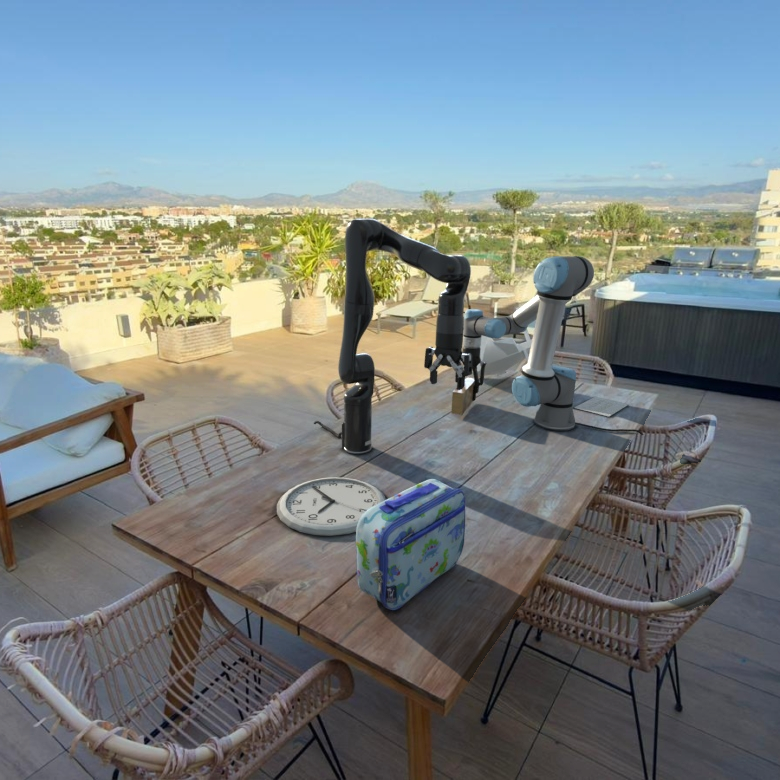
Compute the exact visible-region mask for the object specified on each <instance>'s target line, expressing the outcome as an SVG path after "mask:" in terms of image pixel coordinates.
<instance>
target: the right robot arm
mask: <svg viewBox="0 0 780 780" xmlns="http://www.w3.org/2000/svg"><path fill="white" fill-rule="evenodd" d="M594 277H595V269H594V267H593V264H592V263H591V262H590V260H589V259H587V258H585V257H584V256H580V255H573V256H551V257H546V258H544V259H543V260H542V261H540V262H539V263H538V264H537V266H536V267H535V268H534V272H533V277H532V283H533V284H534V288H535V289H536V290H537V292H536V295H535V296H534V297H532V298H531V299H530V300H528V301H527V302H526V303H525V304H523V305H522V306H520V307H519V309H518V310H517V311H516V310H515V311H514V312H513V313H511V314H510V315H507V316H498V317H488V316H484V312H483V309H476V308H470V309H466V310H464V311H465V312H464V315H463V317H464V330H463V346H462V353H463V354H470V353H471V354H472V370H473V375H474V377H473V378H474V381H475V385H474V386H473V400H472V401H473V402H475V401H476V399H477V394H479V389H480V386H483V384H484V383H485V376H484V372H485V366H486V364H487V363H486V362H483V361H481V359H480V349H481V348H480V346H481V335H483V336H486V337H489V338H492V339H494V340H495V339H496V340H500V339H501V338H502V337H504V336H510V335H519V334H524V331H526V329H527V330H528V328H529V325H531V324H532V323H533V322H535V325H534V330H533V333H532V338H531V339H532V343H531V348H530V353H529V358H528V363H527V362H526V364H524V365H523V366H522V367H521V371H520V375H518V376H516V377H515V378H514V379H513V381H512V383H511V391H512V395H513V396H514V399H515V400H516V402H517V403H518V404H519V405H521V406H522V407H527V408H528V407H537V406H539V407H538V409H537V410H536V413H535V417H534V424H535V425H536V426H537V427H539V428H542V429H544V430H549V431H556V432H567V431H572V430H574V429H575V428H576V425H577V426H581V427H586V428H590V429H595V430H599V431H605V432H635V433H638V434H640V435H641V436H644V433H643V432H642V431H641V430H638V429H633V428H632V429H628V428H627V429H626V428H617V429H615V428H614V429H612V428H603V427H598V426H593V425H589V424H586V423H581V422H577V421H576V418H575V417H576V416H575V413H574V407H573V405H574V398H575V390H576V383H577V372H576V371H575V369H572V368H571V367H570V368H569V367H566V366H561V365H554V364H553V362H554V358H555V355H556V350H557V345H558V340H559V336H560V332H561V326H562V322H563V319H564V318H563V317H564V314H565V310H566V305H567V304H568V303H569V302H571V301H572V300H573V298H574V297H575V296H577V295H578V294H580V293H582V292H583V291H584V290H586V289H587V288H589V286H590V285H591V284H592V282H593V280H594ZM460 361H461V363H462V364H463V366H464V361H463V359H462V358H461V360H460ZM479 363H480V366H481V372H480V376H478V373H477V365H478V364H479ZM457 366H458V365H457ZM454 377H455V378H454V382H455V383H456V384H457V378H458V377H459V376H458V374H457V373H456V372H455V376H454Z"/></svg>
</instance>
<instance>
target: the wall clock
mask: <svg viewBox="0 0 780 780" xmlns="http://www.w3.org/2000/svg"><path fill="white" fill-rule="evenodd" d="M385 500H387V498H386V496H385V494H384V493H383V492H382V491H381V490H380V489H379V488H377V487H376V486H374V485H372V484H371V483H369V482H365V481H362V480H359V479H355V478H349V477H338V476H337V477H335V476H333V477H332V476H331V477H322V478H317V479H312V480H307V481H305V482H302V483H299V484H297V485H295V486H293V487H292V488H290V489H288V490H287V491H286V492H285V493H284V494H283V495H281V496H280V498H279V499H278V502H277V503H276V515H277V517H278V518H279V520H280V521H281V522H282V523H283V524H285V525H286V526H287V527H288V528H290V529H293V530H295V531H297V532H299V533H303V534H308V535H312V536H327V537H328V536H329V537H331V536H332V537H333V536H342V535H350V534H352V533H356V529H357V525H358V522H359V520H360V518H361V516H362V515H363V513H364V512H365V511H366V510H368V509H369V508H371V507H373V506H375V505H377V504H379V503H381V502H383V501H385Z"/></svg>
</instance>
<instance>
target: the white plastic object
mask: <svg viewBox="0 0 780 780" xmlns="http://www.w3.org/2000/svg"><path fill="white" fill-rule="evenodd" d="M519 308H520V307H519V306H518V307H515V312H516V311H517V310H518V309H519ZM523 335H524V338H525V341H524V342H521V343H516V340H515V339H514V337H507V338H504V339H497V340H495V339H494V338H489V337H486V336H483V335H481V346H480V348H481V349H480V359H481V361H483V362H486V363H487V364H486V366H485V372H484V377H485V376H495V375H496V376H497V377H498V376H501V375H504V374H507V370H509V369H511V368H512V367H513V366H515V365H516V364H517V363H519V362H521V361H522V360H523V359H524V358H525V360H526V364H527V363H528V358H529V353H530V348H531V343H532V338H531V337H530V334H529V332H528V328H527V329H526V331H524V332H523ZM480 372H481V366H480V363H479V364H478V365H477V373H478V377H480ZM469 378H474V375H473V370H472V374H471V375H469Z"/></svg>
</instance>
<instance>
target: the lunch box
mask: <svg viewBox="0 0 780 780" xmlns="http://www.w3.org/2000/svg"><path fill="white" fill-rule="evenodd" d="M465 532H466V495H465V492H464V491H463V490H462V489H461V488H453V487H451V486H449V485H447V484H445V483H443V482H442V481H440V480H437V479H435V478H430V479H426V480H424V481H422V482H420V483H417V484H415V485H413V486H411V487H409V488H407V489H405V490H403V491H401V492H399V493H397V494H395V495H393V496H391V497H389V498H386V500H385V501H383V502H381V503H379V504H377V505H375V506H373V507H371V508H369V509H368V510H366V511H365V512H364V513H363V515H362V516H361V518H360V520H359V522H358V525H357V529H356V532H355V551H356V579H357V580H356V581H357V585H358V588H359V590H360V591H361V592H363V593H365V594H366V595H369V596H371V597H372V598H374V599H375V600H376V601H378V602H380V603H381V604H382V606H383V607H384V608H386V609H388V610H391V611H397V610H399V609H401V608H402V607H403V606H405V604H406V603H407V602H409V601H410V600H412V598H414V597H415V596H417V594H419V593H421V592H422V591H423V590H425V588H426V587H428V586H430V585H431V584H432V583H433V582H434V581H435V580H436V579H438V578H439V577H440V576H442V575H444V574H446V572H448V571H450V570H451V569H452V568H453V567H454V566H455V565H456V564H457V563H458V561H459V559H460V558H461V555H462V552H463V549H464V546H465V545H464V544H465V536H466V535H465V534H466V533H465Z"/></svg>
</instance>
